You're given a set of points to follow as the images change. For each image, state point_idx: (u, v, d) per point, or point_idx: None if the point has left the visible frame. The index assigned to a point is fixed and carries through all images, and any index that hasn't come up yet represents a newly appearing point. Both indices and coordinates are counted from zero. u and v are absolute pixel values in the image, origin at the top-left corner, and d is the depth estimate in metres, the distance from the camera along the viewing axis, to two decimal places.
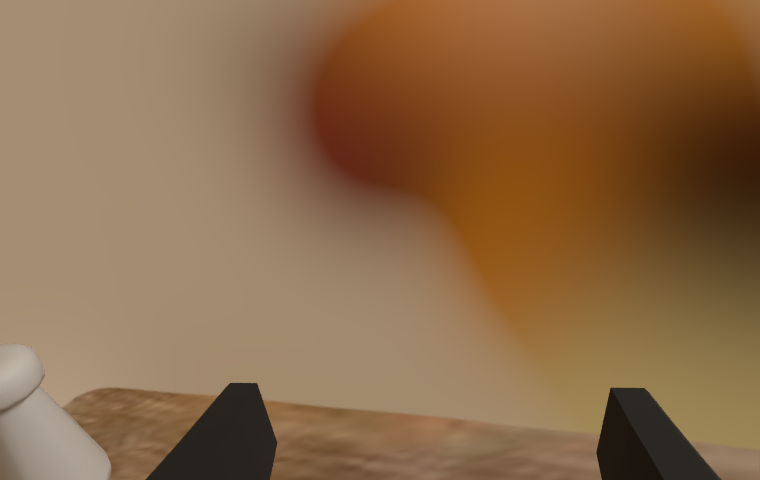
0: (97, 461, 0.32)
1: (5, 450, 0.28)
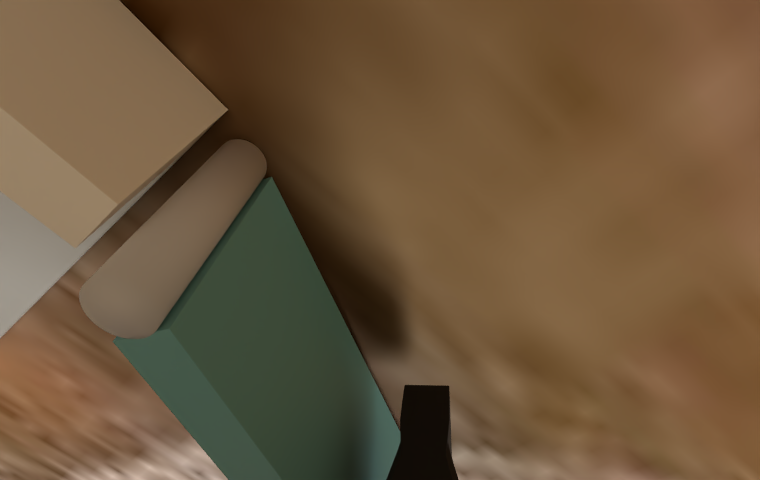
0: None
1: None
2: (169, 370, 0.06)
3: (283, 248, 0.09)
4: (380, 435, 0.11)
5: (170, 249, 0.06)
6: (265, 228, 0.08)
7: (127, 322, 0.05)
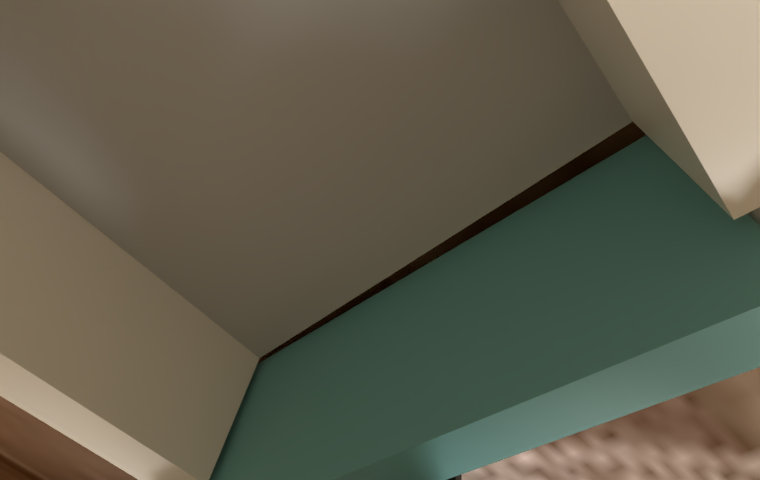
0: None
1: None
2: None
3: None
4: None
5: None
6: None
7: None
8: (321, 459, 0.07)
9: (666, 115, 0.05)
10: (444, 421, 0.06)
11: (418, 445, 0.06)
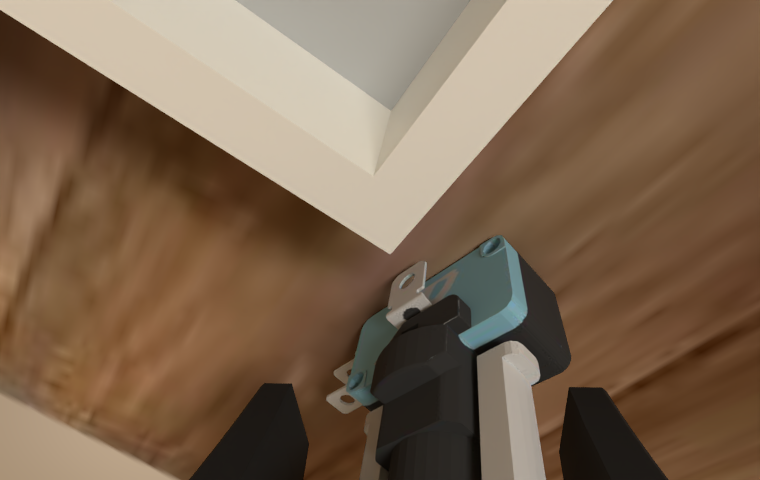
0: None
1: None
2: None
3: None
4: None
5: None
6: None
7: None
8: None
9: None
10: None
11: None
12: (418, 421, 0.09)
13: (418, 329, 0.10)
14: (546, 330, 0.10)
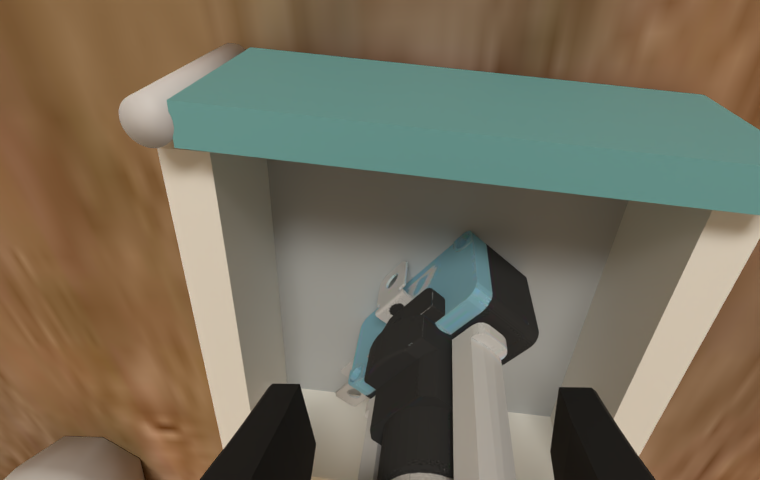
0: None
1: None
2: (206, 127, 0.08)
3: (285, 60, 0.10)
4: (534, 88, 0.10)
5: (152, 83, 0.08)
6: (255, 60, 0.10)
7: (158, 124, 0.08)
8: None
9: (224, 207, 0.10)
10: (423, 172, 0.08)
11: (449, 179, 0.08)
12: (402, 399, 0.10)
13: (399, 321, 0.11)
14: (511, 311, 0.11)
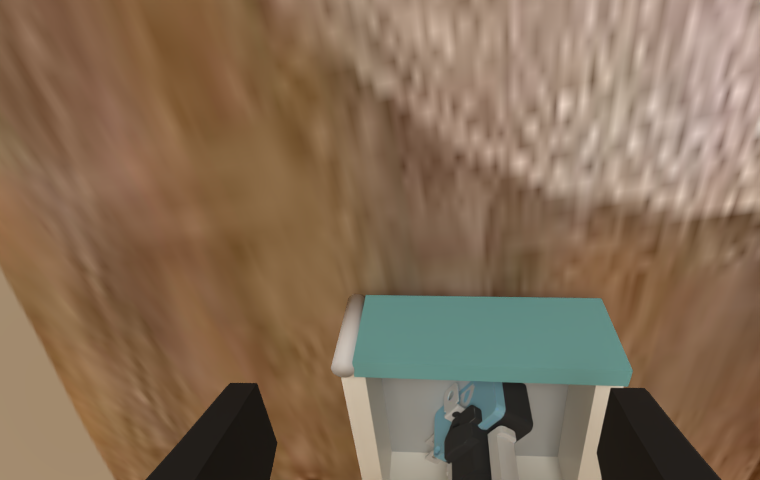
0: None
1: None
2: (368, 369, 0.18)
3: (387, 308, 0.21)
4: (511, 311, 0.20)
5: (339, 347, 0.19)
6: (373, 311, 0.21)
7: (347, 370, 0.19)
8: None
9: (368, 385, 0.21)
10: (462, 377, 0.18)
11: (474, 380, 0.18)
12: (466, 470, 0.20)
13: (459, 426, 0.21)
14: (516, 415, 0.21)
